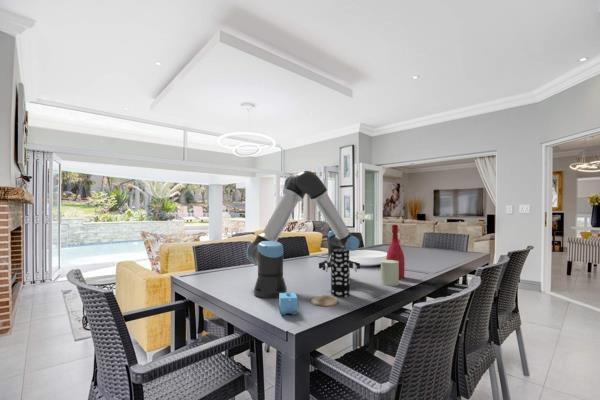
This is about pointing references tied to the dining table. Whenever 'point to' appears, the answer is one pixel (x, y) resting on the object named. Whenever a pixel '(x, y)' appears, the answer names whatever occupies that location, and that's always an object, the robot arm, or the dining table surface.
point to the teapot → (288, 303)
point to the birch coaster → (324, 300)
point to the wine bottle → (396, 251)
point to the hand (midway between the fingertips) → (341, 268)
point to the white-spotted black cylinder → (340, 273)
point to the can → (389, 272)
